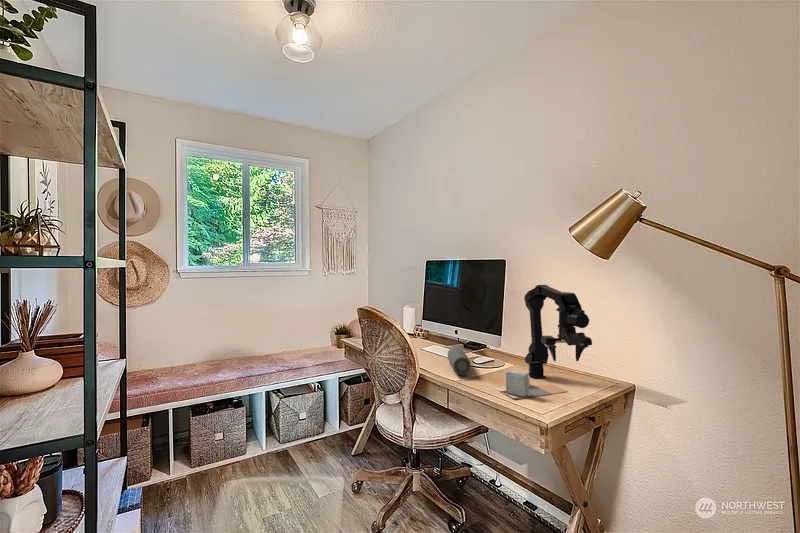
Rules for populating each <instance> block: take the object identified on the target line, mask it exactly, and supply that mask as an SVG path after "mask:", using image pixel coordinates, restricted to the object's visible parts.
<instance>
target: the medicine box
mask: <svg viewBox="0 0 800 533" xmlns="http://www.w3.org/2000/svg"><path fill="white" fill-rule="evenodd" d="M528 374H529V372H528V373H527V372H523V371H520V370H519V371H517V370H513V369H510V370H508V371H506V372H505V389H506V390H505V391H506V393H505V394H511V395H515V396H518V397H525V396H529V387H528Z"/></svg>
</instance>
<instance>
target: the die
mask: <svg viewBox="0 0 800 533" xmlns="http://www.w3.org/2000/svg"><path fill="white" fill-rule="evenodd" d="M530 381H531V378H530V375H528V387H531V384H530V383H531V382H530Z"/></svg>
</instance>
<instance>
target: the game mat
mask: <svg viewBox="0 0 800 533" xmlns="http://www.w3.org/2000/svg"><path fill="white" fill-rule="evenodd" d="M500 392H501V393H500ZM503 392H506V390H499V393H500V394H502V393H503ZM568 392H569V391H568V390H566V389H564V388H562V387H559V386H556V385H554V384H551V383H549V384H541V385H535V386H530V387H529V394H528V395H526V396H525V397H523V396H517V397H512V396H510V395H509V394H508V393H503V394H502V395H504V394H505V395H504V396H506V397H508V398H509V397H510V398H509V399H511V398H512V399H511V400H514V401H518V400H525V399H531V398H537V397H545V396H550V395H556V394H563V393H564V394H565V393H568Z"/></svg>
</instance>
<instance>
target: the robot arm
mask: <svg viewBox="0 0 800 533" xmlns="http://www.w3.org/2000/svg"><path fill="white" fill-rule="evenodd" d="M548 298H549V299H551V300H552V301H554V304H555V305H556V306H558V307H557V308H556V309H555V311H556V312H558V324H557V328H558V334H557V337H554V336H552V335H543V327H542V326H543V325H542V309H543V307H544V305H545V304H544V303H545V301H546V299H548ZM524 303H525V304H524V305H525V307H526V308H527V310H528V311H529V322H530V336H531V343H530V344H529V347H528V353H527V354H526V356H525V357H524V362H525V364H527V365H528V375H530V377H531V378H532V379H542V378H543V379H544V378H547V376H546V375H544V374H545V373H544V372H545V371H544V365H547V364H548V359H549V355H550V354H551V357H552V360H553V362H556V360H557V356H556V355H557V354H556V352H557V351H556V349H557V345H556V344H557V343H561V344H563V343H564V344H565V343H566V345H567V346H571V347H572V346H575V361H576V362H579V361H580V358H581V356H582V354H583V351H584V350H585V349H587V348H589V347H590V346H592V345H593V340H592V338H591V337H589V336H586V334H585V333H584V332H577V330H576V327H577V328H579V329H585V328H586V327H588V326H589V324H590V318H589V316H588V315H587V314H586V313H585V310H584V309H583V308H582V304H581V303H580V301H579V299H578V296H577V295H576V293H574V292H569V291H568V292H566V291H561V290H558V289H556V288H554V287H551V286H549V285H547V284H537V285H535V286H534V288H531V289H530V290H528V291H527V292H526V294H525V295H524ZM549 352H550V354H549Z"/></svg>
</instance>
